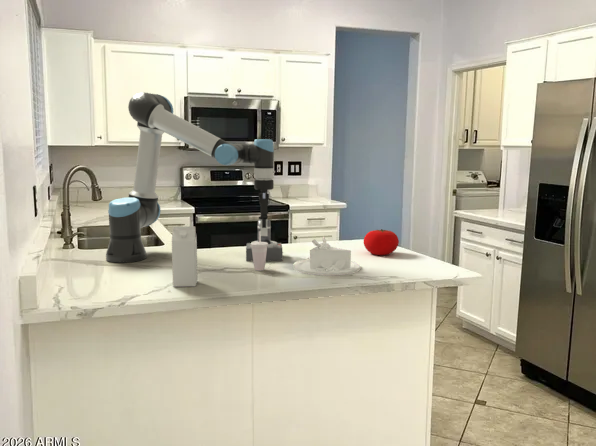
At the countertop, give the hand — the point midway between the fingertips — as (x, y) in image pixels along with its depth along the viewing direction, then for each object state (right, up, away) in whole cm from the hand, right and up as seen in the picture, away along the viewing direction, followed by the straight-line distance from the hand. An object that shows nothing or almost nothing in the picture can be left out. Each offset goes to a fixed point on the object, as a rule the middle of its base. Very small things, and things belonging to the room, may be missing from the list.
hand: (263, 233), depth 220 cm
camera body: (0, -10, +2) cm, 10 cm away
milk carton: (-23, -16, -39) cm, 48 cm away
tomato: (+48, -9, +11) cm, 50 cm away
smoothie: (0, -13, -18) cm, 22 cm away
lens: (0, -5, +1) cm, 5 cm away
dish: (+24, -13, -14) cm, 31 cm away
